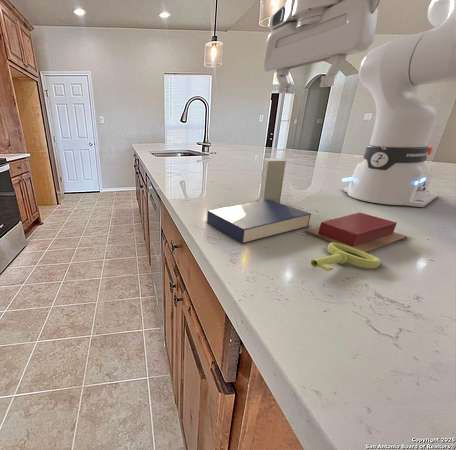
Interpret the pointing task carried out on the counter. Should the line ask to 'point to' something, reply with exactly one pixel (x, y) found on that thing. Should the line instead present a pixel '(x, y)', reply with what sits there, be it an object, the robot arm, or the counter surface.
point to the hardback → (257, 220)
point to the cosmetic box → (272, 179)
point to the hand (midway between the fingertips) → (303, 90)
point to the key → (345, 257)
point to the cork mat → (368, 245)
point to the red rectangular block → (357, 228)
